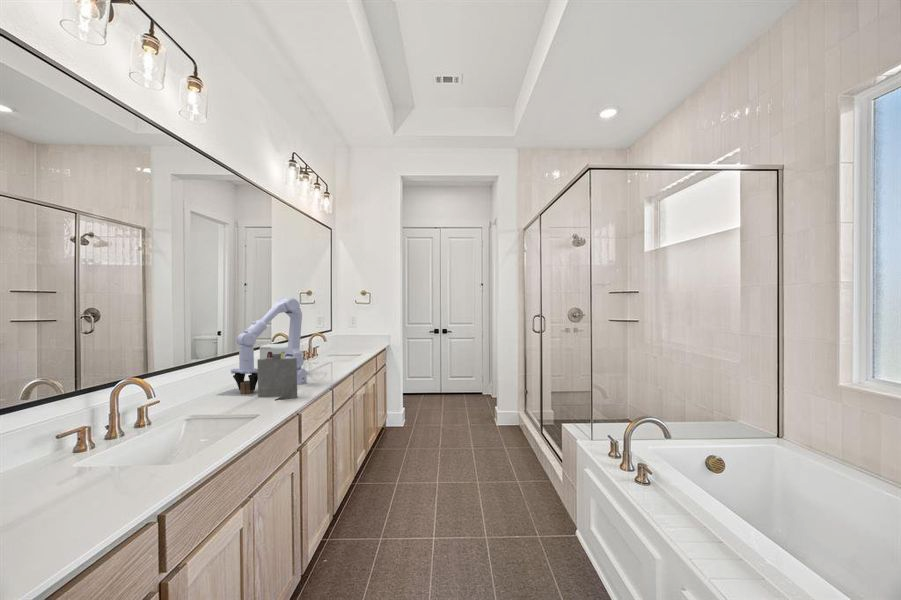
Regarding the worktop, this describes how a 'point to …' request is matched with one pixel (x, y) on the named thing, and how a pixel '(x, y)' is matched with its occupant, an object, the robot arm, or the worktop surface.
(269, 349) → the supplement box
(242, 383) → the cap
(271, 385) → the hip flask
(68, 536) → the worktop surface
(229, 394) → the board
